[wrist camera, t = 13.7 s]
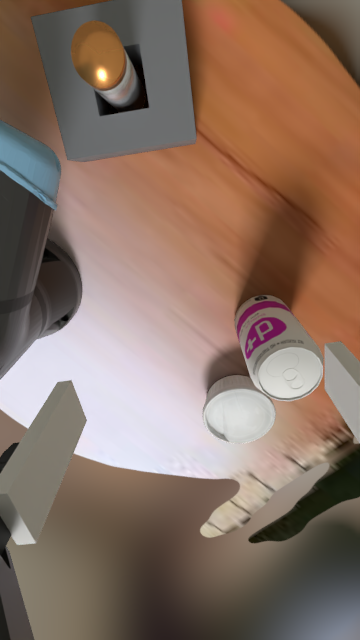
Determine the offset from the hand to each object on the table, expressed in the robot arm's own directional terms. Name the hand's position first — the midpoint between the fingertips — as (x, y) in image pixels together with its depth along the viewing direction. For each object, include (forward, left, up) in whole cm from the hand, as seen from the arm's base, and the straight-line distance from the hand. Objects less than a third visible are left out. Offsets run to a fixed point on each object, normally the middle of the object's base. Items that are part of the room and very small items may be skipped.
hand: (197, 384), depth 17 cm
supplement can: (+9, -11, -31) cm, 34 cm away
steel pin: (-5, +19, -31) cm, 36 cm away
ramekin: (+4, -25, -31) cm, 40 cm away
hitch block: (-5, +19, -31) cm, 36 cm away
